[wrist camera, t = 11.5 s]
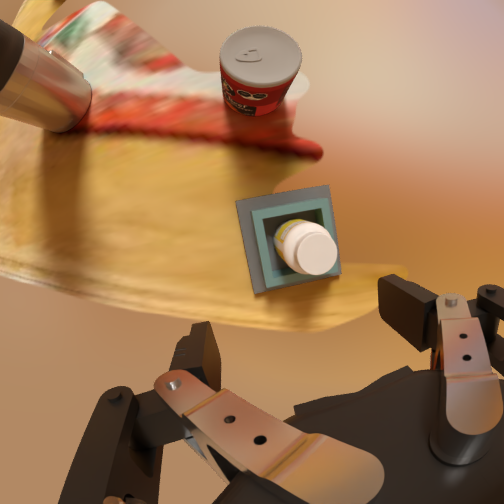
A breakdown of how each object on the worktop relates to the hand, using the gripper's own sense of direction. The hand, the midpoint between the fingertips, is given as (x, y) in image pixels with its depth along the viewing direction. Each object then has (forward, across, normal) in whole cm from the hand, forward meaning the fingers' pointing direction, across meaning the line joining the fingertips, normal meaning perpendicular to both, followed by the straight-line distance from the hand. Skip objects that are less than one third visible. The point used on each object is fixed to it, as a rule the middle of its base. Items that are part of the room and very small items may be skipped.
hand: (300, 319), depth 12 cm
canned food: (+24, -4, -19) cm, 31 cm away
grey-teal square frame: (+24, -5, +1) cm, 24 cm away
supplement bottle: (+23, -5, +1) cm, 23 cm away
